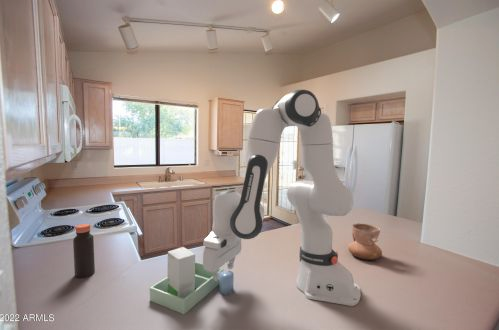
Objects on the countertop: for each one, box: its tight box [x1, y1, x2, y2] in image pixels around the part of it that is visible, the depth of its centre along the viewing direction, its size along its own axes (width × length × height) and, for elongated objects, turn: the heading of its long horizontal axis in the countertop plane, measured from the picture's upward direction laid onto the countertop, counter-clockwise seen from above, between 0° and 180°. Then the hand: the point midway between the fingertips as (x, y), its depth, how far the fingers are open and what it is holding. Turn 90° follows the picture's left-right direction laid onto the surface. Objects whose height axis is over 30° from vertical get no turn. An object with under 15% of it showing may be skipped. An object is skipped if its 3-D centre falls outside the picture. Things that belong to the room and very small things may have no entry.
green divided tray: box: [149, 260, 224, 315], centre depth 88 cm, size 15×22×4 cm
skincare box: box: [166, 246, 196, 299], centre depth 84 cm, size 8×7×16 cm
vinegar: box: [72, 223, 96, 279], centre depth 99 cm, size 7×7×20 cm
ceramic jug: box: [348, 222, 383, 261], centre depth 117 cm, size 18×14×14 cm
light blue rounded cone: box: [218, 270, 235, 295], centre depth 88 cm, size 5×5×6 cm
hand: (223, 273), depth 87 cm, fingers open, 8 cm apart
